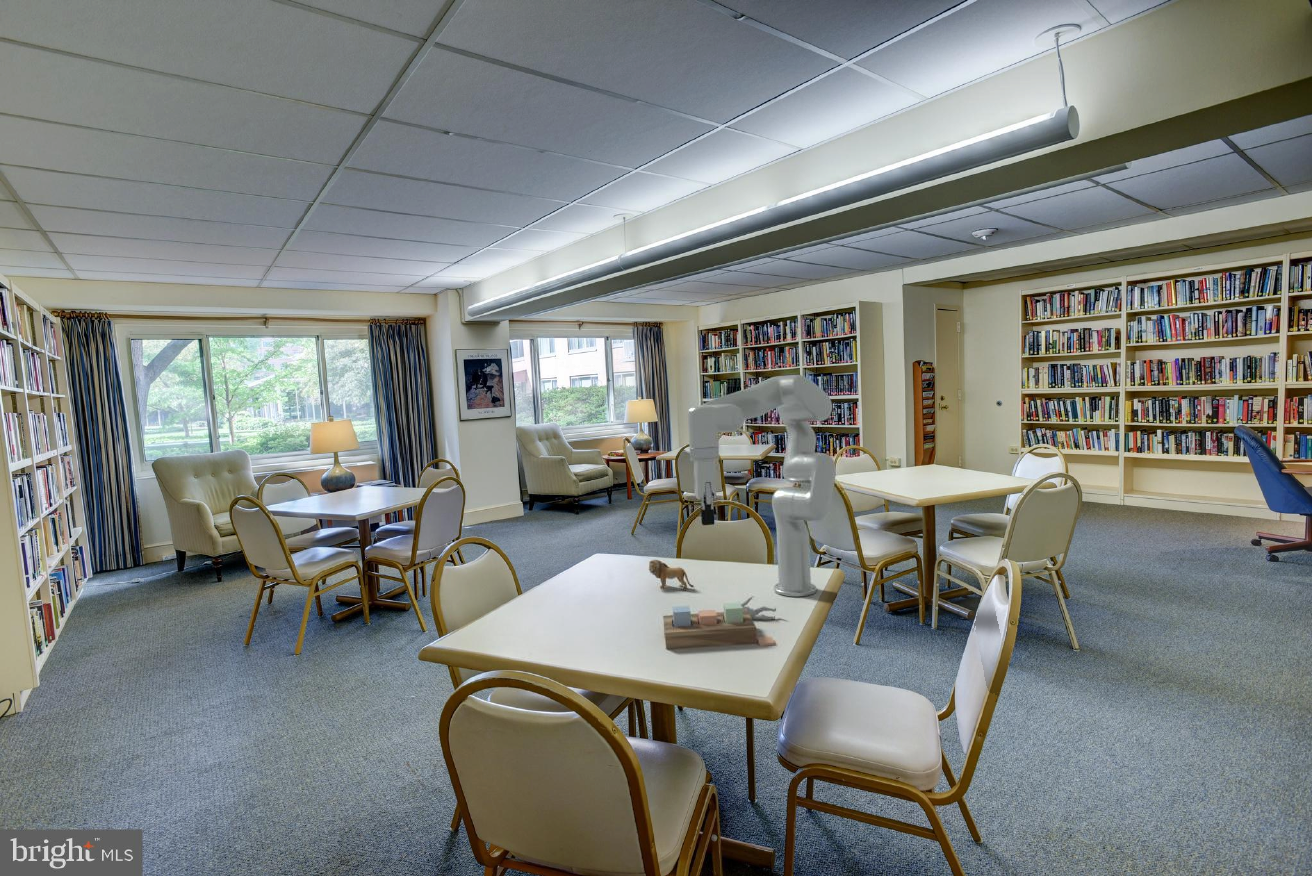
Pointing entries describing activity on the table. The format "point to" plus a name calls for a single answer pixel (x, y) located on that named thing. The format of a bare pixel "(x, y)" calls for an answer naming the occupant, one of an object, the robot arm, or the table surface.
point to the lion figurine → (667, 573)
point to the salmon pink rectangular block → (707, 617)
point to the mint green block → (733, 613)
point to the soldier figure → (757, 611)
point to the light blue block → (681, 616)
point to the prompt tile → (765, 641)
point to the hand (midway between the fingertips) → (708, 524)
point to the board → (709, 632)
